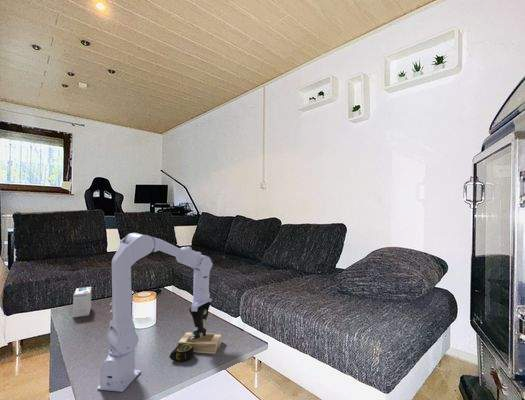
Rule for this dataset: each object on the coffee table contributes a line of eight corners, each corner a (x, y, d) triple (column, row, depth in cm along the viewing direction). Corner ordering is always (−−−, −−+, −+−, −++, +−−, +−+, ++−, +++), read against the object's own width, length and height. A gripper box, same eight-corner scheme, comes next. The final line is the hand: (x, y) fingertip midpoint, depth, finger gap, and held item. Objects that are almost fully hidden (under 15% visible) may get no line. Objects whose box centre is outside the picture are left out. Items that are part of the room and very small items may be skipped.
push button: (194, 343, 100) (197, 315, 99) (185, 336, 103) (188, 310, 103) (208, 337, 105) (211, 311, 104) (200, 331, 108) (202, 306, 108)
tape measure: (178, 351, 100) (178, 341, 100) (196, 353, 99) (196, 343, 99) (169, 362, 94) (169, 351, 94) (188, 364, 92) (188, 353, 93)
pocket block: (215, 353, 99) (215, 345, 99) (177, 350, 101) (177, 342, 101) (221, 341, 107) (221, 334, 108) (186, 339, 109) (187, 331, 109)
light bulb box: (75, 309, 137) (75, 288, 137) (91, 307, 140) (91, 286, 141) (72, 318, 128) (72, 294, 128) (89, 315, 131) (90, 292, 131)
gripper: (205, 293, 97) (204, 333, 96) (217, 282, 111) (216, 316, 111) (185, 292, 97) (185, 331, 97) (200, 281, 112) (199, 315, 112)
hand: (200, 323), depth 104 cm, fingers closed on push button, 5 cm apart
